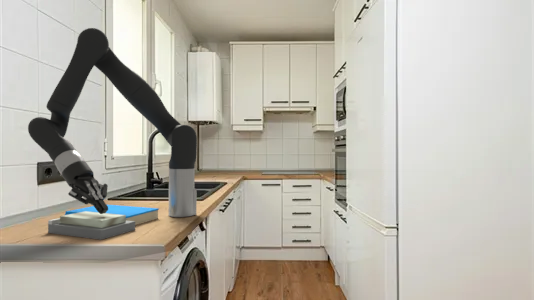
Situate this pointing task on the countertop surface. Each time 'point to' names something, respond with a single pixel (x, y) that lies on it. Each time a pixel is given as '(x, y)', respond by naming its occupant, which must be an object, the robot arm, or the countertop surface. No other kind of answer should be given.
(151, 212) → the book
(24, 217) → the countertop surface
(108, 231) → the board
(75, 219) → the silver flat block
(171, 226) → the countertop surface
